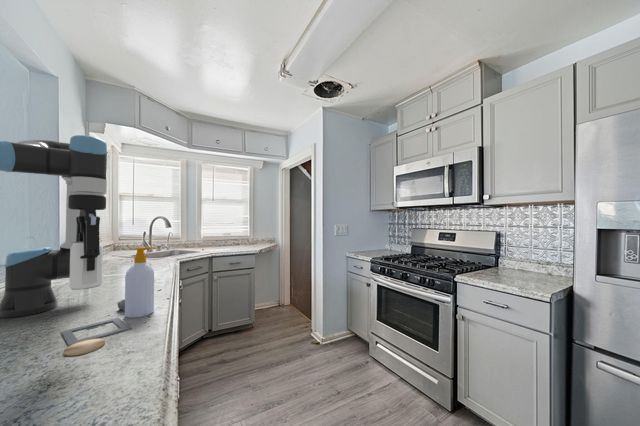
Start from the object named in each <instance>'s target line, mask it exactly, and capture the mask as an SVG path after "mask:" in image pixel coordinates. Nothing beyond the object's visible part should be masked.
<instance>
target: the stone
mask: <svg viewBox="0 0 640 426" xmlns="http://www.w3.org/2000/svg"><path fill="white" fill-rule="evenodd" d="M117 308H118V310H121V311H124V312H125V298H124V299H122V300H121V299H120V301H118V302H117Z"/></svg>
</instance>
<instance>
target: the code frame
mask: <svg viewBox="0 0 640 426" xmlns="http://www.w3.org/2000/svg"><path fill="white" fill-rule="evenodd" d="M110 323H113V324H114V325H115V326H116V327H118V328H116V329H114V330H109V331H106V332H102V333H99V334H96V335H91V336H89V337H85V338H82V339H81V338H80V339H78V338H77V337H76V335H75V334H74V332H78V331H81V330H85V329H86V330H88V331H89V330H92V329H96V328H99V326H101V327H105V326H106V325H107V324H110ZM132 329H133V328H132V327H131V326H130V325H129V324H128V323H126V322H125V321H124V320H122V319H121V318H120V317H115V318H110V319H107V320H103V321H99V322H94V323H90V324H86V325H83V326H78V327H74V328H69V329H65V330H61V331H60V334H61V335H62V337H63V339H64V340H65V343H66V344H67V347H69V346H71V345H73V344H75V343H78V342H81V341H85V340H90V339H102V338H105V337H108V336H111V335H116V334H118V333H119V334H120V333H123V332H126V331H129V330H132Z"/></svg>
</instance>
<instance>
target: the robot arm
mask: <svg viewBox="0 0 640 426" xmlns="http://www.w3.org/2000/svg"><path fill="white" fill-rule="evenodd" d="M108 152H109V151H108V145H107V142H106V141H105V140H103V139H101V138H99V137H95V136H89V135H82V134H81V135H79V134H78V135H76V134H75V135H72V136H71V137H70V140H69V143H68V142H60V141H55V140H48V139H47V140H44V139H43V140H42V139H39V140H37V139H34V140H30V139H29V140H21V141H18V142H11V141H7V140H4V141H3V140H0V171H1V172H6V173H23V174H33V175H34V174H37V175H47V176H58V177H61V179H63V181H65V184H66V196H65V197H66V200H65V202H66V203H65V204H66V205H65V208H66V209H65V240H64V241H63V243H62V244H59V249H57V250H53V248H52V246H47V247H46V246H44V247H36V248H30V249H23V250H18V251H13V252H10V253H8V255H7V256H6V258H5V259H6V260H5V265H4V268H5V283H4V295H3V296H2V299H1V300H0V318H1V319H6V318H7V319H8V318H9V319H10V318H19V317H24V316H25V317H26V316H31V315H36V314H38V313H45V312H47V311H50V310H52V309H55V308H56V307H57V306H58V299H57V296H56V294H55V292H54V289H53V288H52V281H55V280H56V281H57V280H63V279H70V249H71V247H72V245H73V242H80V241H83V244H84V256H81V257H80V259H83V267H82V284H83V285H84V284H91V283H97V256H98V255H99V254H100V252H99V241H100V223H101V222H100V221H101V218H100V217H101V216H97V211H103V210H106V209H107V197H106V196H105V195H107V191H108V189H107V187H108V186H107V185H108V183H107V182H108V180H107V165H108V162H107V161H108V160H107V159H108Z"/></svg>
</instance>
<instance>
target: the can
mask: <svg viewBox="0 0 640 426" xmlns="http://www.w3.org/2000/svg"><path fill="white" fill-rule="evenodd" d="M99 252H100V254H99V255H98V256H97V283H91V284H84V285H83V284H82V267H83V259H80V257H81V256H84V244H83V241H80V242H73V245H72V247H71V249H70V278H69V289H71V290H74V291H75V290H76V291H78V290H81V291H82V290H88V289H93V288H94V289H95V288H97V287H100V286H102V284H103V277H104V276H103V272H104V271H103V267H104V264H103V263H104V246H103V244H102V240H99Z"/></svg>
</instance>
